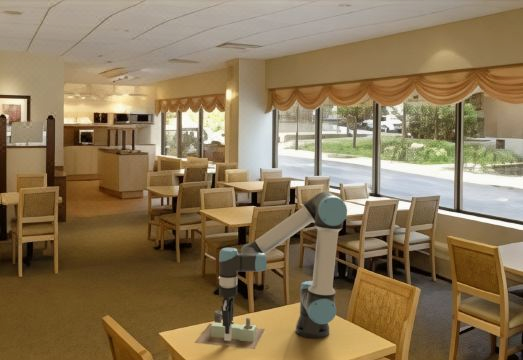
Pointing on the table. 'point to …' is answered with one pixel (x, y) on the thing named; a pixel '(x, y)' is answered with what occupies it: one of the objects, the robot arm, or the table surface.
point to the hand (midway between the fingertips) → (227, 339)
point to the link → (235, 332)
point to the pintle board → (207, 339)
